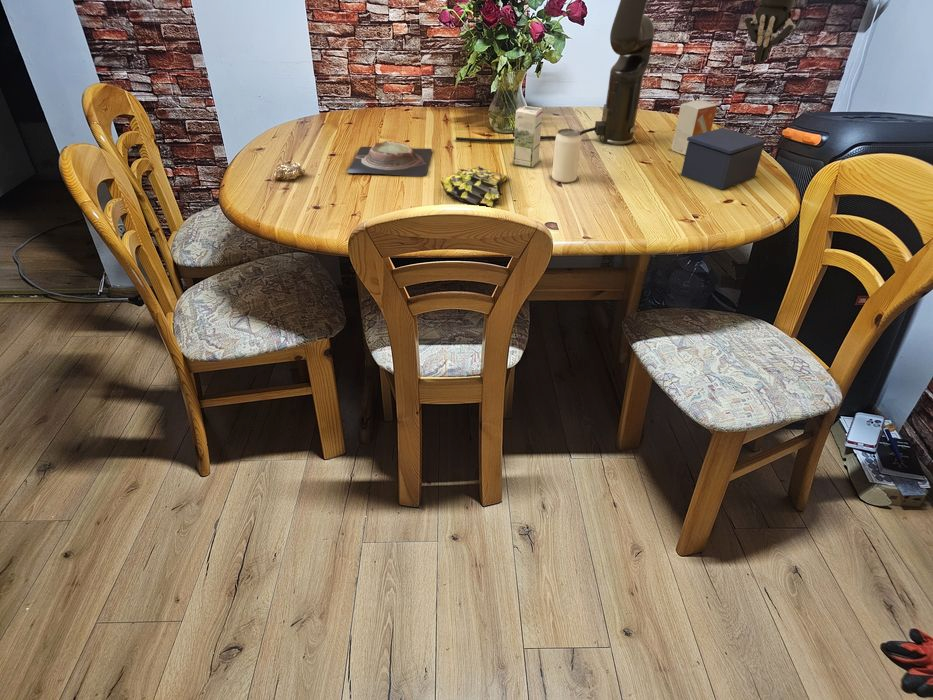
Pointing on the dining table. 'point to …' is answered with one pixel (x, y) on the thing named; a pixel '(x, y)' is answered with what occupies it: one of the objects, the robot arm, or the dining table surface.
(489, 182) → the banana patterned fabric
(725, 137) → the case lid
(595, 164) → the dining table surface
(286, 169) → the beige lumpy piece
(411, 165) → the quiche
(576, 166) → the can
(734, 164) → the case
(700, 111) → the small box
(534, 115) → the syrup box
